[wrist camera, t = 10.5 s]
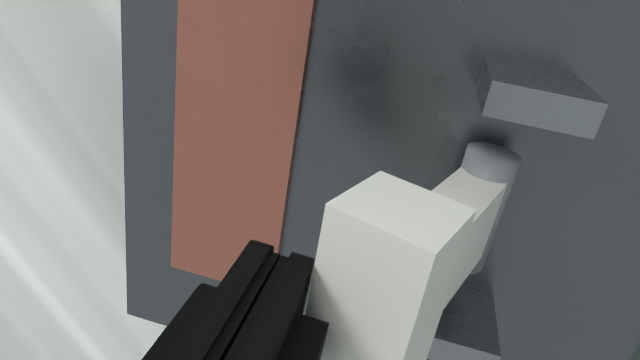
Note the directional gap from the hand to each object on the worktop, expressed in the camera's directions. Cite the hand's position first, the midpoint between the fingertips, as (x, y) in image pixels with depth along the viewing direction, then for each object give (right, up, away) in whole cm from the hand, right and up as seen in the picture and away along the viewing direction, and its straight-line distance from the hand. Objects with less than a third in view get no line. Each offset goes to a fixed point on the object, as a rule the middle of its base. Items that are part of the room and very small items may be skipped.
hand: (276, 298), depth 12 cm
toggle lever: (+7, +2, +7) cm, 10 cm away
